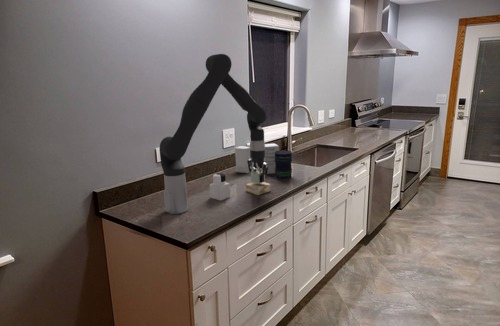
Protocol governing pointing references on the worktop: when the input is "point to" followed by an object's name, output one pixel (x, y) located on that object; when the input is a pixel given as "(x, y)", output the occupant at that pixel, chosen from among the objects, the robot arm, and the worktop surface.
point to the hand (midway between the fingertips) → (258, 180)
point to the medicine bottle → (219, 187)
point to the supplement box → (270, 156)
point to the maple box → (258, 188)
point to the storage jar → (283, 164)
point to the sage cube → (256, 177)
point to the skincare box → (242, 159)
